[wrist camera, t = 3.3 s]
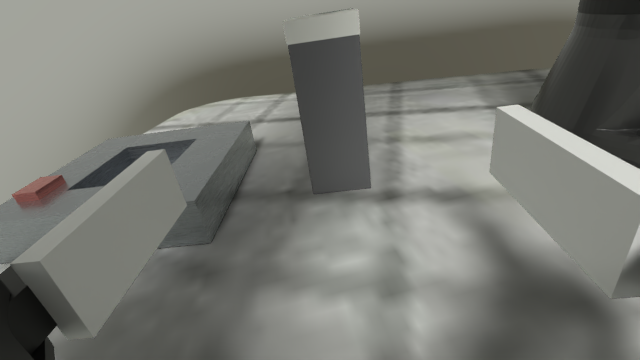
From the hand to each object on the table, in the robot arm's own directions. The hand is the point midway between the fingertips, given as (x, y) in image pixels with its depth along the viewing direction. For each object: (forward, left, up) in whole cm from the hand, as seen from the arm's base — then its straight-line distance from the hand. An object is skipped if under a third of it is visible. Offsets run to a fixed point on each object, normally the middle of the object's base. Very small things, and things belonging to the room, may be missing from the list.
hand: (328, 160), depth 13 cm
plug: (0, -10, -6) cm, 12 cm away
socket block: (+15, -10, -6) cm, 19 cm away
